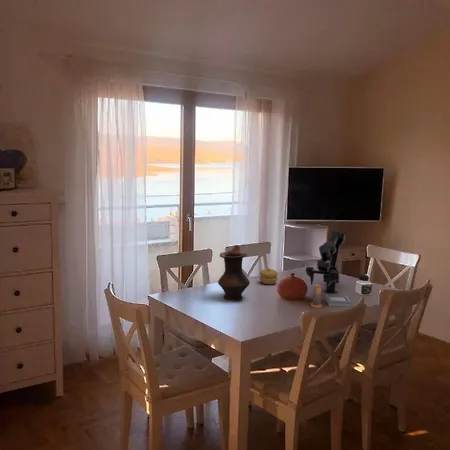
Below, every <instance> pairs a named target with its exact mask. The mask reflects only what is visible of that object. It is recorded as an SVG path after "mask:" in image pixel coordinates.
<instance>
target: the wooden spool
mask: <svg viewBox="0 0 450 450" xmlns="http://www.w3.org/2000/svg"><path fill="white" fill-rule="evenodd" d="M322 287H323V286H322V285H321V284H316V283H315V284H313V289H312V290H313V293H312V302H311V303H310V307H311V308H315V309H322V308H323V303H322V290H323V289H322ZM321 307H322V308H321Z"/></svg>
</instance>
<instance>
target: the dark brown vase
mask: <svg viewBox="0 0 450 450" xmlns="http://www.w3.org/2000/svg"><path fill="white" fill-rule="evenodd" d="M247 256H248V254H247V253H246V252H244V251H242V250H241V248H240V245H239V244H235V245H234V246H233V247H232V249H231V250H228V251H224V252H220V254H219V257H220V258H223V260H224V261H223V262H224V272H223V274H222V275H221V277H219V278H218V279H219V280H218V281H217V284H218V285H219V287H220V288H221V289H222V290H223V292H224V295H223V299H224V300H226V301H240V300H243V295H242V294H243V292H244V291H245V290H246V289H247V287H248V286H250V284H251V283H250V280H249V278H248V277H247V276H246V275H245V273H244V272H243V259H244V257H247Z"/></svg>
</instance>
